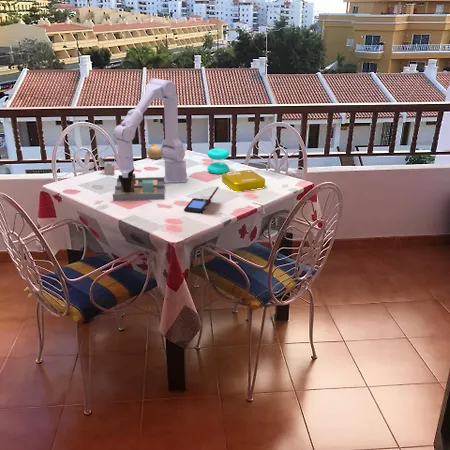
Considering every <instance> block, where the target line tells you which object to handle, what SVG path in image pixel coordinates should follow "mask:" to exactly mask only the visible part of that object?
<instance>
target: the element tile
mask: <svg viewBox="0 0 450 450" xmlns="http://www.w3.org/2000/svg"><path fill="white" fill-rule="evenodd" d="M222 182H223V183H224V184H225V185H227V186H228V187H229V188H230V189H229V188H228V187H227V186H226V187H227V188H228V189H229V190H231V189H232V190H233V191H243V192H245V191H244V190H250V191H252V190H251V189H257V188H263V187H266V179H265V178H264V177H263V176H261V175H260V174H258V173H257V172H255V171H254V170H252V169H246V170H245V169H244V170H237V171H228V172H226V173H223V174H221V183H222ZM223 183H222V184H223ZM224 184H223V185H224ZM225 185H224V186H225ZM263 189H264V188H263ZM232 190H231V191H232ZM257 190H258V189H257ZM233 191H232V192H233Z"/></svg>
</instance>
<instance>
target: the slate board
mask: <svg viewBox="0 0 450 450" xmlns="http://www.w3.org/2000/svg"><path fill="white" fill-rule="evenodd" d="M135 180H138V185H134V188H143V186H142V182H143V180H153V188H154V187H157V193H132V194H121V193H122V192H121V181H120V180H119V178H118V177H117V178H116V185H115V186H114V190H115V191H114V193H113V194H112V201H113V202H121V201H122V202H123V201H155V200H157V201H158V200H159V201H160V200H162V201H163V200H165V183H164V176H159V177H158V176H157V177H155V176H154V177H153V176H152V177H135Z"/></svg>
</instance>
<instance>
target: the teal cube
mask: <svg viewBox="0 0 450 450" xmlns="http://www.w3.org/2000/svg"><path fill="white" fill-rule="evenodd" d="M142 186H143V193H153V180H143V182H142Z"/></svg>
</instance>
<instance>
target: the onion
mask: <svg viewBox="0 0 450 450" xmlns="http://www.w3.org/2000/svg"><path fill="white" fill-rule="evenodd" d="M161 147H162V146H160V145H158V144H156V143H151V146H149V148H147V150H146V151H147V156H148V158H151V159H153V160H158V159H161V158H163V157H162V156H161V153H160V150H161Z"/></svg>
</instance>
